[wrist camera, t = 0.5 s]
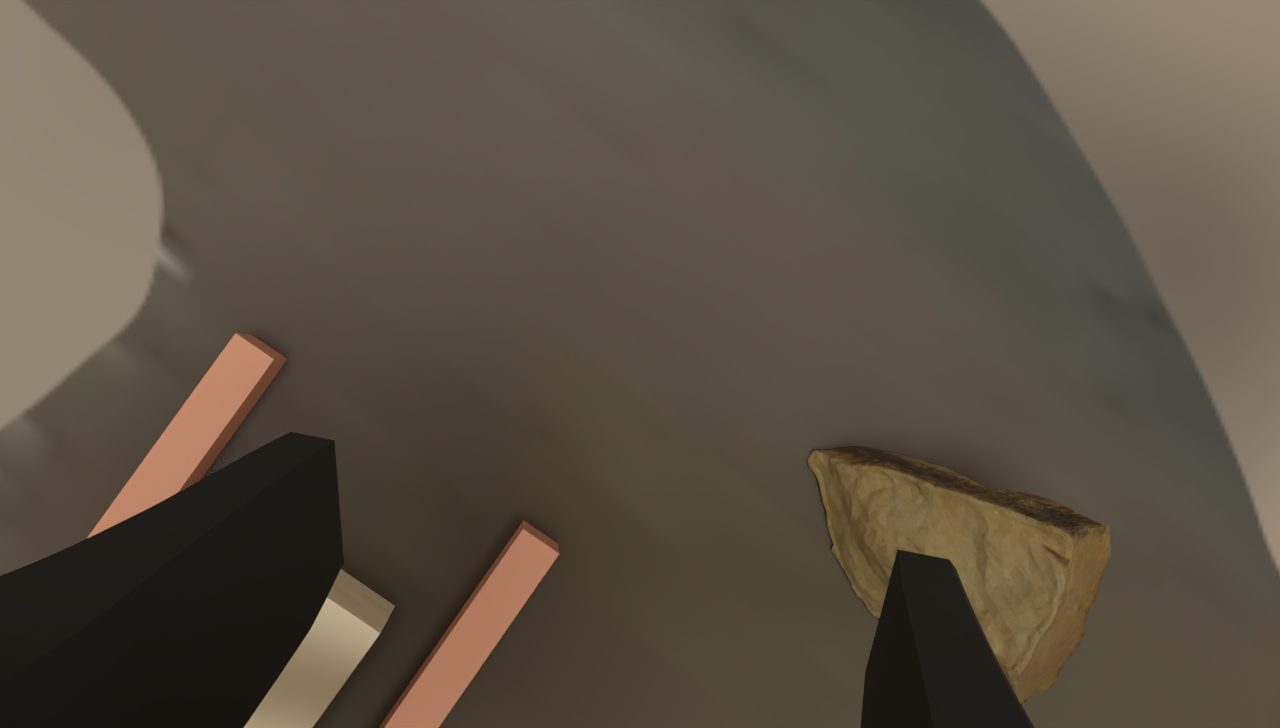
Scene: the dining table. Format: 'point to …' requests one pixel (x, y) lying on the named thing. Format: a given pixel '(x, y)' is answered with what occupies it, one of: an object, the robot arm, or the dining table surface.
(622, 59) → the dining table surface
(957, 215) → the dining table surface
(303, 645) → the maple block
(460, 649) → the pink-beige flat slab
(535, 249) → the dining table surface
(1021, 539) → the rock
